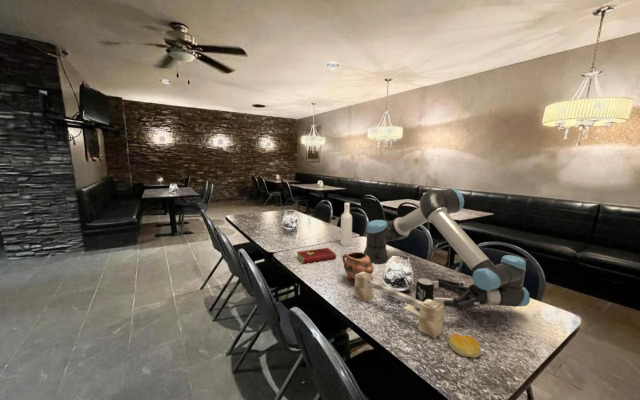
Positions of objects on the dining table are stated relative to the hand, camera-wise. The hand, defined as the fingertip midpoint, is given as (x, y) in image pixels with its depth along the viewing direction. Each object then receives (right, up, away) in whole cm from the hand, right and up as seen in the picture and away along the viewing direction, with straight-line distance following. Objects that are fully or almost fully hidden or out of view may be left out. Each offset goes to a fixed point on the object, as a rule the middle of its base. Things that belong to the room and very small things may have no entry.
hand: (427, 292), depth 102 cm
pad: (-1, -8, +2) cm, 8 cm away
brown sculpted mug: (-25, -4, +26) cm, 36 cm away
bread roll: (+4, -12, -19) cm, 23 cm away
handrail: (-14, -8, 0) cm, 16 cm away
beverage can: (-1, -8, +2) cm, 8 cm away
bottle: (-25, +5, +80) cm, 84 cm away
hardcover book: (-45, +1, +54) cm, 71 cm away
